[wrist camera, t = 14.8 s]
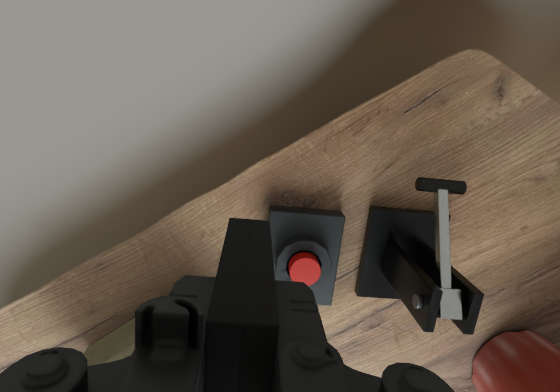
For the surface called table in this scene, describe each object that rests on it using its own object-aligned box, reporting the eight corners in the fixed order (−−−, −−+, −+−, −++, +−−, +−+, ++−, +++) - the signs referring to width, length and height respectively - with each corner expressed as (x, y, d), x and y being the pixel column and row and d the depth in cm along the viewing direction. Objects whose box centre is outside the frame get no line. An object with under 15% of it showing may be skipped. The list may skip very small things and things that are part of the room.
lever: (412, 180, 40) (423, 174, 38) (456, 184, 41) (469, 178, 38) (414, 315, 37) (426, 317, 35) (462, 318, 37) (476, 320, 35)
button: (290, 250, 43) (291, 256, 41) (320, 252, 43) (322, 258, 42) (286, 278, 44) (287, 285, 42) (316, 280, 44) (318, 287, 43)
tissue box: (201, 274, 47) (175, 359, 32) (245, 328, 50) (239, 431, 34) (86, 347, 49) (8, 460, 34) (133, 395, 51) (81, 522, 36)
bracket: (369, 206, 46) (415, 250, 33) (446, 212, 47) (520, 258, 34) (354, 291, 49) (390, 364, 36) (426, 296, 50) (488, 369, 37)
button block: (269, 205, 45) (270, 215, 41) (341, 211, 46) (348, 221, 42) (260, 292, 48) (261, 309, 44) (328, 296, 49) (334, 313, 45)
